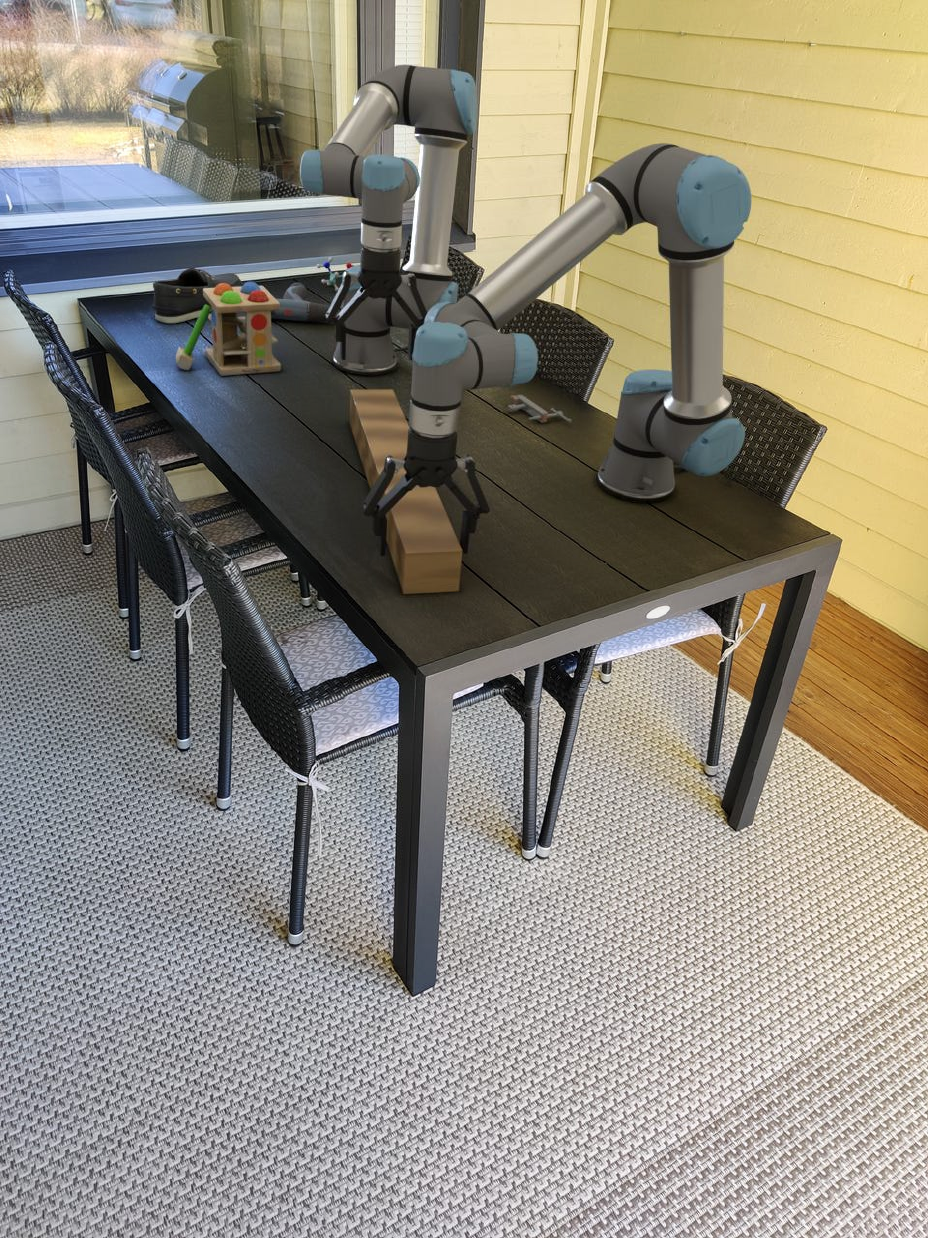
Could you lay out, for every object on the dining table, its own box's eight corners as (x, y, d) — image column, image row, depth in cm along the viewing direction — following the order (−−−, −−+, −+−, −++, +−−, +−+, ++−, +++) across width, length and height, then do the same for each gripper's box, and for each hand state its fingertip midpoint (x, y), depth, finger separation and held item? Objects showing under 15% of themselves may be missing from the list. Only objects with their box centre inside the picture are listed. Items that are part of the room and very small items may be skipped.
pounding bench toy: (183, 379, 220) (176, 299, 210) (169, 357, 231) (162, 280, 221) (282, 371, 230) (280, 294, 220) (264, 350, 240) (262, 276, 230)
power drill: (344, 304, 276) (335, 327, 259) (277, 298, 275) (264, 321, 258) (344, 285, 273) (335, 306, 256) (277, 279, 272) (264, 300, 255)
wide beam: (349, 423, 209) (350, 389, 205) (391, 422, 211) (392, 389, 207) (403, 594, 155) (405, 553, 151) (458, 591, 158) (462, 550, 153)
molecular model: (349, 283, 280) (337, 248, 279) (321, 295, 284) (310, 261, 283) (366, 286, 291) (354, 252, 289) (339, 298, 294) (328, 265, 293)
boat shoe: (261, 302, 273) (259, 263, 267) (172, 325, 249) (168, 283, 243) (227, 293, 278) (225, 255, 273) (137, 316, 254) (132, 274, 249)
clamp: (499, 396, 222) (536, 391, 226) (498, 406, 223) (534, 400, 228) (535, 422, 211) (573, 416, 216) (534, 432, 213) (571, 425, 217)
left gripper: (315, 250, 177) (315, 364, 189) (450, 254, 183) (442, 364, 195) (311, 239, 183) (312, 350, 195) (442, 243, 189) (434, 351, 201)
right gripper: (354, 439, 142) (349, 565, 154) (518, 439, 148) (502, 560, 160) (347, 418, 148) (343, 541, 160) (506, 419, 154) (491, 537, 166)
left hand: (377, 357), depth 195 cm, fingers open, 13 cm apart
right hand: (422, 550), depth 160 cm, fingers open, 13 cm apart
